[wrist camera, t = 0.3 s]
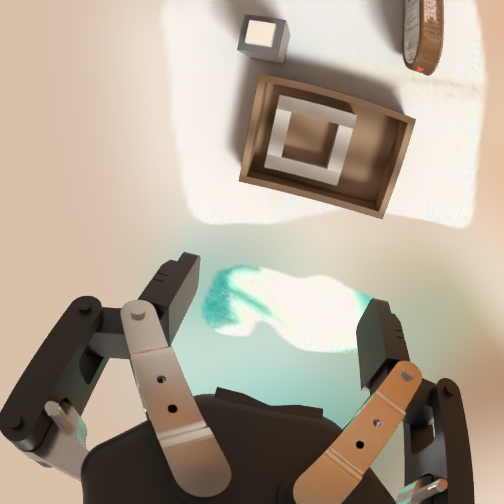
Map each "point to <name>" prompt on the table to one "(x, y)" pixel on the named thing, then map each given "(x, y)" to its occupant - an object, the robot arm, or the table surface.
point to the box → (324, 145)
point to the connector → (264, 38)
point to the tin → (423, 34)
